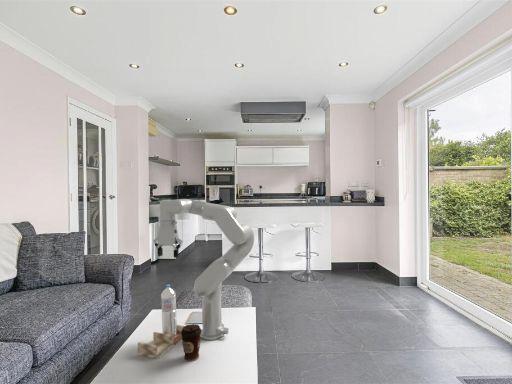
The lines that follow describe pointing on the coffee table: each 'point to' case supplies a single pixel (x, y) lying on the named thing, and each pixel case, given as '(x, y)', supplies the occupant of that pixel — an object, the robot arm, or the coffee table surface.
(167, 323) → the water bottle
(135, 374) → the coffee table surface
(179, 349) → the coffee table surface
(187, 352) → the coffee cup
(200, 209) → the robot arm
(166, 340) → the wooden bottle cradle
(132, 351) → the coffee table surface
